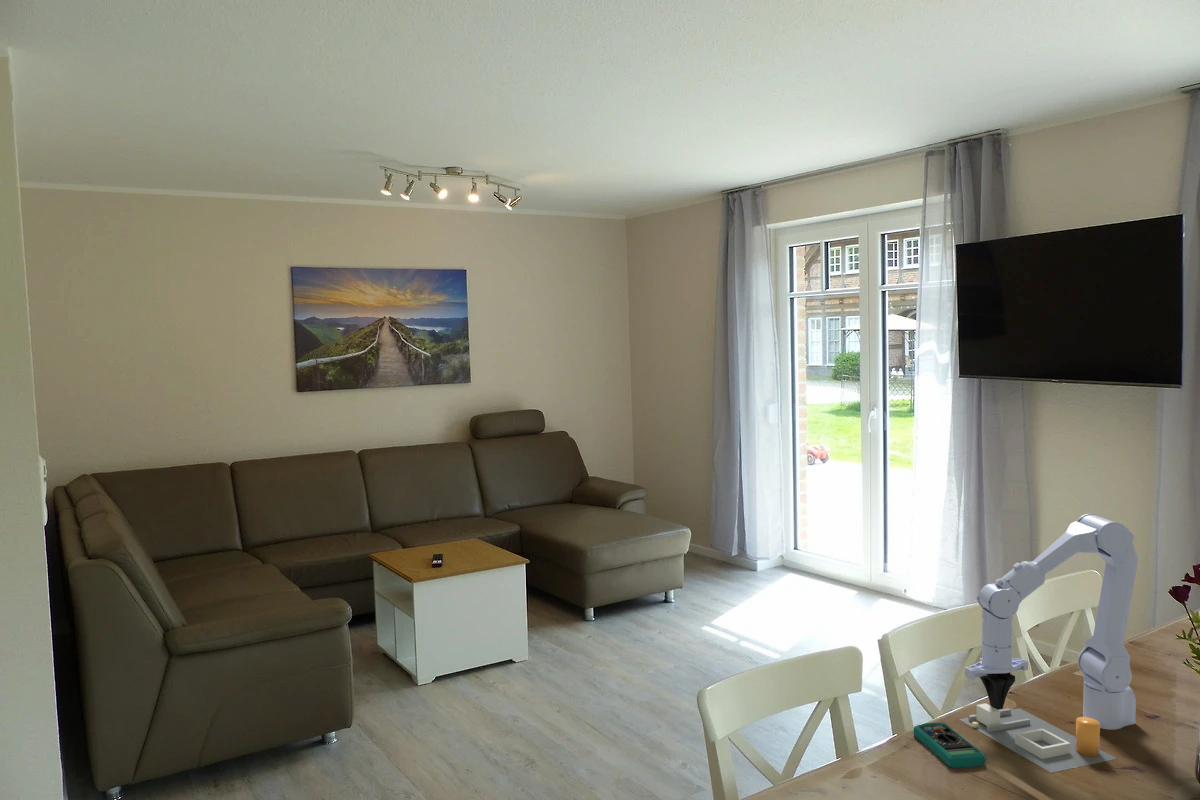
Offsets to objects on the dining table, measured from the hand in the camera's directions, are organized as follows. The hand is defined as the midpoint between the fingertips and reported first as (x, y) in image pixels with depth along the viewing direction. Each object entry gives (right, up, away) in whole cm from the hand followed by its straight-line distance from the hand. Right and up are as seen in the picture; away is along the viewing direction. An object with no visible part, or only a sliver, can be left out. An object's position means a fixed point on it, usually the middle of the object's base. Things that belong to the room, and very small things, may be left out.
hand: (996, 707), depth 179 cm
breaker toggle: (-2, -3, 0) cm, 4 cm away
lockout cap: (+12, -4, -13) cm, 18 cm away
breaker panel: (+4, -5, -7) cm, 9 cm away
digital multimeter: (-14, -6, -8) cm, 17 cm away
